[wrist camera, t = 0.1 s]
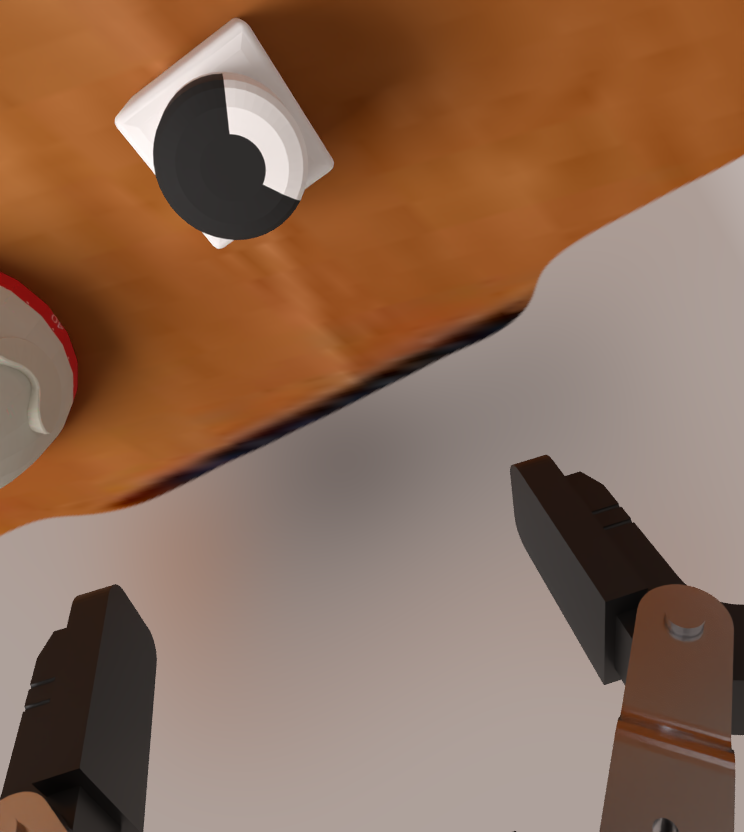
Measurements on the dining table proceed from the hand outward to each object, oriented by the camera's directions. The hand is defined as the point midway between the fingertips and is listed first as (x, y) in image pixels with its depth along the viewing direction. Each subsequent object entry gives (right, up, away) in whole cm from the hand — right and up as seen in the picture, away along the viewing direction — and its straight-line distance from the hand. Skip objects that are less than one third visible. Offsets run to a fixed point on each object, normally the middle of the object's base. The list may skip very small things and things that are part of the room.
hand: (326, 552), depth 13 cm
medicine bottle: (-7, +19, +22) cm, 30 cm away
